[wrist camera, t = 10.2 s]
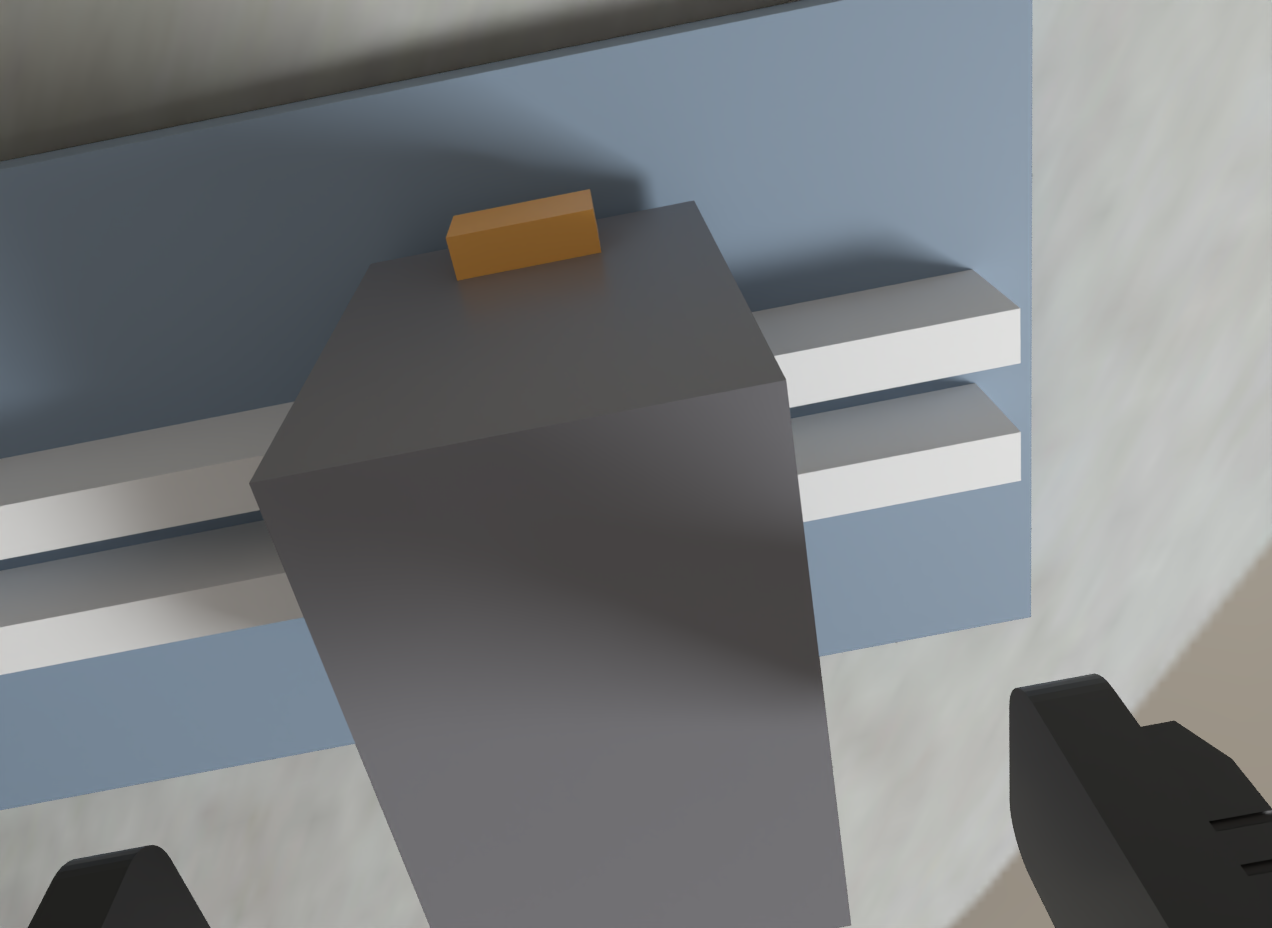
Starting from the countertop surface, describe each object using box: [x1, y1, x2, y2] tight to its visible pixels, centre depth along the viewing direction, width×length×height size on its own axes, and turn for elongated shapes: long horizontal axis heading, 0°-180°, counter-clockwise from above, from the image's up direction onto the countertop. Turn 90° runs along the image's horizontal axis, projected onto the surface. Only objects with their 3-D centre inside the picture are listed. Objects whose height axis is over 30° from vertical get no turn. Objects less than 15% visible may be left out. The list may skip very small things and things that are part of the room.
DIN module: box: [249, 189, 851, 928], centre depth 14 cm, size 8×5×7 cm, turn 10°
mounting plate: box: [0, 0, 1032, 810], centre depth 18 cm, size 12×22×3 cm, turn 100°
